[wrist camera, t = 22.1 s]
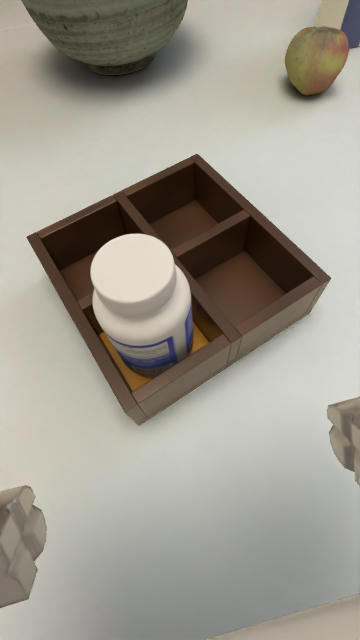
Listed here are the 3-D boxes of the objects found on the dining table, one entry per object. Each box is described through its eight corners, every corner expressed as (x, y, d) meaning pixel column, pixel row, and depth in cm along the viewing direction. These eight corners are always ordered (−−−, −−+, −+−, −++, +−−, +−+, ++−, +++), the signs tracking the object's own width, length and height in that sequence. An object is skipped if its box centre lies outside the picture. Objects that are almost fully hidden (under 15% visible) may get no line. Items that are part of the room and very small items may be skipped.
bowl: (76, 125, 38) (37, 14, 29) (25, 49, 47) (-16, -54, 38) (229, 68, 41) (236, -46, 33) (155, 7, 50) (145, -96, 41)
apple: (317, 116, 36) (337, 53, 31) (267, 85, 39) (278, 23, 34) (355, 95, 38) (380, 31, 32) (304, 67, 41) (319, 5, 35)
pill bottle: (153, 299, 26) (129, 204, 17) (208, 338, 24) (213, 253, 15) (104, 350, 24) (49, 273, 15) (160, 396, 22) (134, 338, 14)
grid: (138, 426, 22) (124, 412, 18) (51, 272, 28) (25, 236, 24) (310, 311, 25) (332, 278, 21) (197, 196, 32) (197, 153, 28)
